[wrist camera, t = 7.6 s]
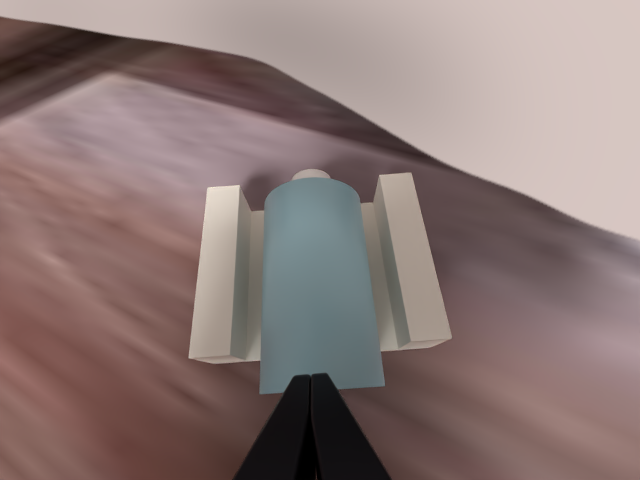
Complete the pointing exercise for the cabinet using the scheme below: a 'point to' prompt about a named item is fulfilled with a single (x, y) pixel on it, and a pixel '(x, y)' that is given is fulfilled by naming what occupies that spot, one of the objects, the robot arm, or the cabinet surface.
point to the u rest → (247, 270)
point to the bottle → (317, 287)
